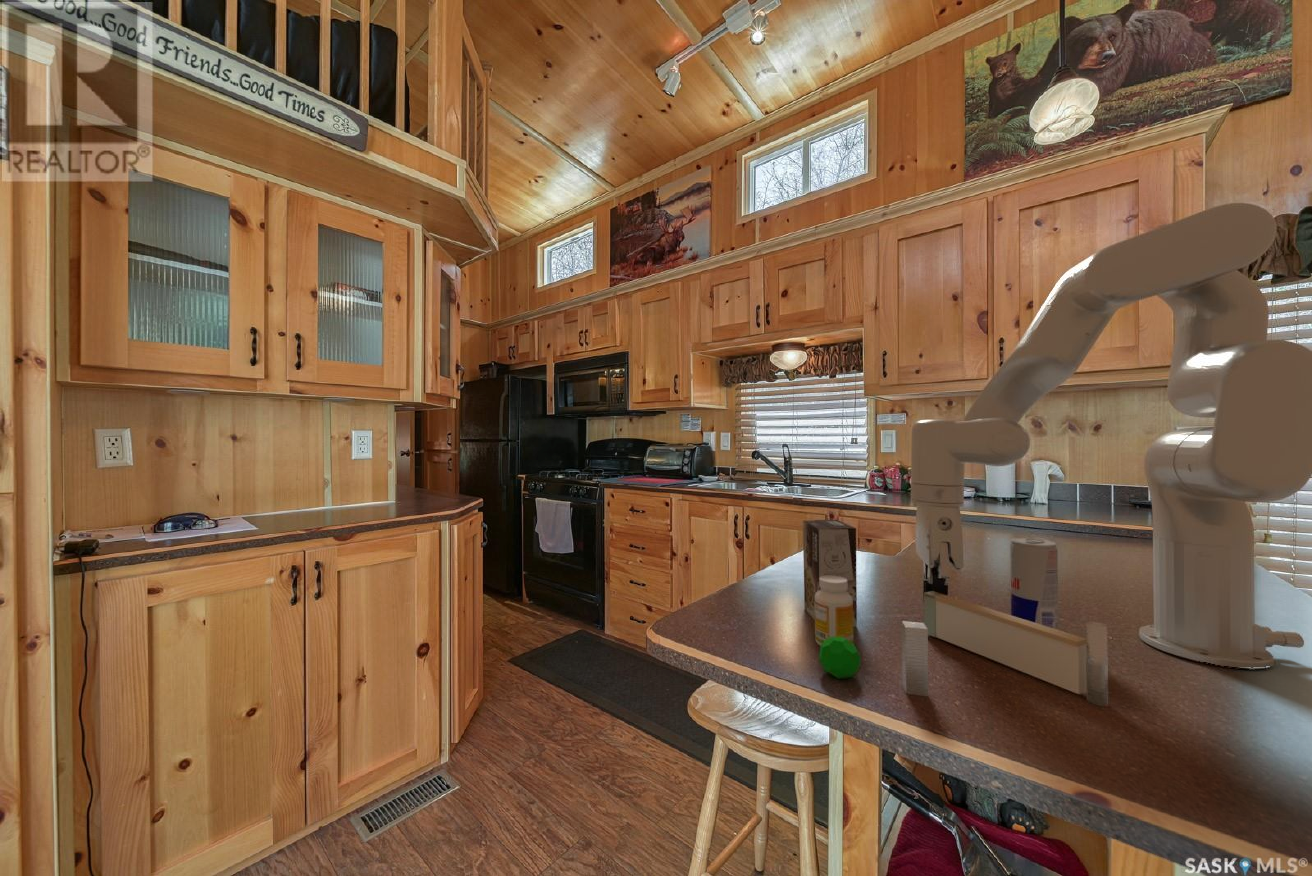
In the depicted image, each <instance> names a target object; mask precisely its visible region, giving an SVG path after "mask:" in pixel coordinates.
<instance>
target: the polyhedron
mask: <svg viewBox="0 0 1312 876" xmlns="http://www.w3.org/2000/svg"><path fill="white" fill-rule="evenodd" d="M818 659H819V662H820V663H821V666H822V668H823V670H824V671H826V672H827V673H829V674H830V675H832V676H833V677H835V678H837V679H848V678H852V677H853V676H854V675H855V674H856V673H857V672H858V671H859V670H860V669H859V668H860V666H861V656H860V653H859V652H858V650H857V648H856V646H855V643H854V642H853V643H851V642H850V641H848V640H847V639H845V638H843V637H841V636H838V637H831V638H828V639H826V640H825V641H824V642H823V643H822V644H821V646H820V647H819V655H818Z"/></svg>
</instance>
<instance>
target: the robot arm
mask: <svg viewBox="0 0 1312 876" xmlns="http://www.w3.org/2000/svg"><path fill="white" fill-rule="evenodd" d="M1277 229H1278V225H1277V223H1276V219H1275V218H1274V216H1273V215H1272V213H1270V212H1269V211H1268V210H1267V209H1265V208H1263V207H1261V206H1259V205H1256V204H1252V203H1248V202H1247V203H1246V202H1232V203H1225V204H1221V205H1216V206H1213V207H1210V208H1207V209H1205V210H1201V211H1199V212H1196V213H1194V214H1191V215H1189V216H1186V217H1183V218H1180V219H1178V220H1175V221H1173V222H1170V223H1167V224H1165V225H1163V226H1160V227H1156V228H1154V229H1151V230H1149V231H1146V232H1143V233H1140V234H1138V235H1134V236H1133V237H1130V238H1127V239H1124V240H1122V241H1119V242H1116V243H1114V244H1113V243H1112V244H1110V245H1108V246H1106V247H1104V248H1102V249H1099V250H1098V251H1096V252H1095V253H1093V254H1091V255H1090V256H1088V257H1086V259H1083V260H1082V261H1081V262H1079V263H1077V264H1076V265H1074V266H1073V267H1071V268H1070V269H1069V270H1068V271H1065V273H1064V274H1063V275H1062V276H1061V277H1060V278H1059V279H1058V281H1057V282H1056V284H1055V285H1054V287H1052V290H1051V291H1050V293H1049V295H1048V296H1047V297H1046V299H1045V301H1044V302H1043V303H1042V305H1041V307H1040V309H1039V310H1038V312H1037V313H1036V315H1035V316H1034V318H1033V320H1032V321H1031V323H1030V325H1028V328H1027V329H1026V331H1025V332H1024V334H1023V335H1022V336H1021V338H1020V340H1019V342H1018V343H1017V345H1016V346H1015V347H1014V349H1013V350H1012V351H1011V353H1010V354H1009V356H1008V357H1007V358H1006V359H1005V360H1004V361H1003V363H1002V364H1001V365H1000V367H999V368H998V369H997V372H996V373H995V374H994V375H993V376H992V377H991V379H990V380H989V381H988V382H987V384H986V385H985V386H984V388H983V389H982V390H981V392H980V393H978V396H976V399H975V400H974V401H973V403H972V404H971V406H970V407H969V409H968V411H967V412H966V414H965V416H964V417H963V419H962V420H961V421H959V420H955V419H921V420H917V421H915V422H914V423H913V424H912V427H911V437H910V438H911V440H910V441H911V442H910V443H911V445H910V446H911V447H910V452H911V453H910V455H911V456H910V461H911V462H910V503H911V504H914V505H915V504H916V511H915V513H916V515H915V516H916V517H915V552H916V555H917V557H919V559H920V560H921V561H923V563H922V564H923V586H922V587H923V592H922V593H923V595H922V602H923V604H924V593H925V592H930V591H934V592H937V593H941V594H944V595H947V596H949V579H950V578H951V576H950V565H951V566H952V567H953V568H954V569H955V570H957V571H961V570H963V568H964V565H965V563H964V561H965V560H964V538H963V536H964V535H963V523H962V514H961V507H964V505H965V504H964V503H965V502H964V501H965V500H964V499H965V498H964V496H965V495H964V494H965V463H968V464H978V465H984V466H990V467H1005V466H1010V465H1012V464H1015V463H1018V462H1020V461H1021V460H1022V459H1024V457H1025V456H1026V455H1027V453H1028V452H1029V449H1030V446H1031V439H1030V434H1029V433H1028V431H1027V430H1026V429H1025V427H1024V426H1023V425H1021V424H1020V423H1019V422H1020V421H1021V419H1022V418H1023V417H1024V416H1025V415H1026V413H1027V412H1028V411H1029V410H1030V409H1031V408H1032V407H1033V406H1034V405H1035V404H1036V403H1037V402H1039V400H1041V399H1042V398H1043V397H1044V396H1045V395H1048V393H1050V392H1052V391H1053V390H1055V389H1057V388H1058V387H1059V386H1061V385H1062V384H1064V383H1065V382H1066V381H1067V380H1068V379H1070V378H1071V377H1072V376H1073V375H1074V374H1075V373H1076V372H1077V370H1078V369H1079V368H1080V366H1081V365H1082V363H1083V361H1084V360H1085V358H1086V357H1087V356H1088V354H1089V353H1090V352H1091V350H1092V348H1093V346H1094V345H1095V343H1096V342H1097V341H1098V339H1099V337H1100V336H1101V334H1102V333H1103V331H1104V330H1105V328H1106V327H1107V326H1108V324H1109V323H1110V321H1111V320H1112V318H1113V317H1114V315H1115V314H1116V312H1118V310H1119V309H1121V308H1125V307H1126V306H1129V305H1131V304H1134V303H1137V302H1139V301H1141V300H1145V299H1148V298H1152V297H1155V296H1156V297H1158V298H1160V299H1161V300H1162V301H1163V302H1164V303H1165V304H1167V306H1168V307H1169V309H1170V310H1171V311H1172V313H1173V315H1174V318H1175V320H1174V321H1175V335H1174V336H1175V338H1174V344H1173V350H1172V356H1171V361H1170V362H1171V363H1170V369H1169V370H1170V371H1169V376H1168V380H1167V381H1168V382H1167V388H1166V391H1167V393H1166V395H1167V398H1168V402H1169V403H1170V405H1171V407H1173V409H1175V410H1176V411H1178V412H1179V413H1181V414H1183V415H1187V416H1190V417H1193V418H1194V417H1195V418H1202V419H1203V418H1204V419H1210V418H1213V419H1214V421H1213V426H1208V427H1207V426H1199V427H1198V426H1197V427H1196V426H1194V427H1186V428H1185V427H1184V428H1180V429H1176V430H1172V431H1169V432H1166V433H1164V434H1163V435H1161V436H1159V437H1158V438H1156V439H1155V440H1154V441H1153V442H1151V444H1150V445H1149V447H1148V449H1147V450H1146V453H1145V456H1144V461H1143V462H1144V465H1143V466H1144V474H1145V478H1146V483H1147V487H1148V490H1149V496H1150V500H1151V509H1152V510H1151V511H1152V557H1153V558H1152V559H1153V560H1152V563H1153V564H1152V566H1153V569H1152V572H1153V573H1152V574H1153V575H1152V576H1153V577H1152V578H1153V579H1152V580H1153V581H1152V582H1153V586H1152V587H1153V624H1149V625H1148V624H1147V625H1144V626H1141V627H1140V628H1139V630H1138V631H1139V633H1138V636H1139V638H1140V639H1141V640H1142V641H1143V642H1144V643H1145V644H1147V645H1149V646H1151V647H1153V648H1155V649H1158V650H1159V651H1160V650H1161V651H1163V652H1164V653H1165V652H1166V653H1168V654H1171V655H1174V656H1177V657H1180V658H1183V659H1184V658H1185V659H1187V660H1192V661H1194V662H1199V661H1200V662H1199V663H1203V662H1207V663H1206V664H1208V663H1211V664H1210V665H1212V664H1215V665H1214V666H1218V665H1220V666H1219V667H1224V666H1230V667H1229V668H1231V667H1251V668H1253V667H1266V666H1272V665H1273V666H1274V664H1275V663H1274V662H1275V661H1274V655H1273V654H1272V653H1271V652H1270V651H1268V650H1267V649H1266V648H1272V647H1273V646H1275V645H1276V646H1280V647H1287V648H1299V649H1300V648H1303V647H1304V646H1305V641H1304V638H1303V636H1301V634H1300V633H1298V632H1292V631H1281V630H1280V631H1279V630H1278V631H1277V630H1276V631H1272V629H1271V628H1270V627H1269V626H1261V625H1259V624H1257V623H1255V622H1256V618H1255V617H1256V616H1255V612H1256V611H1255V606H1256V605H1255V530H1254V523H1253V518H1252V516H1251V512H1250V511H1249V510H1250V509H1249V508H1248V505H1247V503H1270V502H1276V501H1277V502H1278V501H1280V500H1283V499H1287V498H1289V497H1291V496H1293V495H1294V494H1295V495H1296V493H1298V492H1300V490H1301V489H1303V488H1304V487H1305V485H1306V484H1307V483H1308V482H1309V480H1310V479H1311V476H1312V350H1311V349H1309V348H1307V347H1306V346H1304V345H1302V344H1300V343H1296V342H1293V341H1289V340H1283V339H1268V327H1269V317H1270V315H1269V314H1270V313H1269V312H1270V311H1269V305H1268V301H1267V299H1266V296H1265V294H1264V293H1263V291H1262V290H1261V289H1260V288H1259V286H1258V285H1256V283H1254V282H1253V281H1252V280H1251V279H1250V278H1248V277H1247V276H1245V275H1244V274H1243V273H1242V272H1240V271H1239V270H1240V269H1242V268H1244V267H1246V266H1249V265H1250V264H1252V263H1254V262H1255V261H1257V260H1258V259H1259V258H1261V257H1262V256H1263V255H1264V254H1265V253H1266V252H1267V251H1268V250H1269V249H1270V247H1271V246H1272V245H1273V243H1274V241H1275V240H1276V239H1275V238H1276V236H1277V233H1278V232H1277V231H1278V230H1277ZM1246 502H1247V503H1246ZM1273 666H1272V667H1273Z"/></svg>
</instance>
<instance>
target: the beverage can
mask: <svg viewBox="0 0 1312 876" xmlns="http://www.w3.org/2000/svg"><path fill="white" fill-rule="evenodd" d="M1010 540H1011V541H1010V544H1009V547H1010V551H1009V555H1010V557H1009V558H1010V561H1009V562H1010V615H1012V616H1015V617H1018V618H1021V619H1024V620H1028V621H1031V622H1034V623H1037V624H1041V625H1044V626H1047V627H1050V628H1053V629H1057V630H1059V581H1058V580H1059V572H1058V571H1059V570H1058V569H1059V566H1058V560H1059V558H1058V556H1059V555H1058V548H1057V543H1056V542H1055V541H1052V540H1047V539H1040V538H1034V537H1013V538H1012V539H1010Z"/></svg>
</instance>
